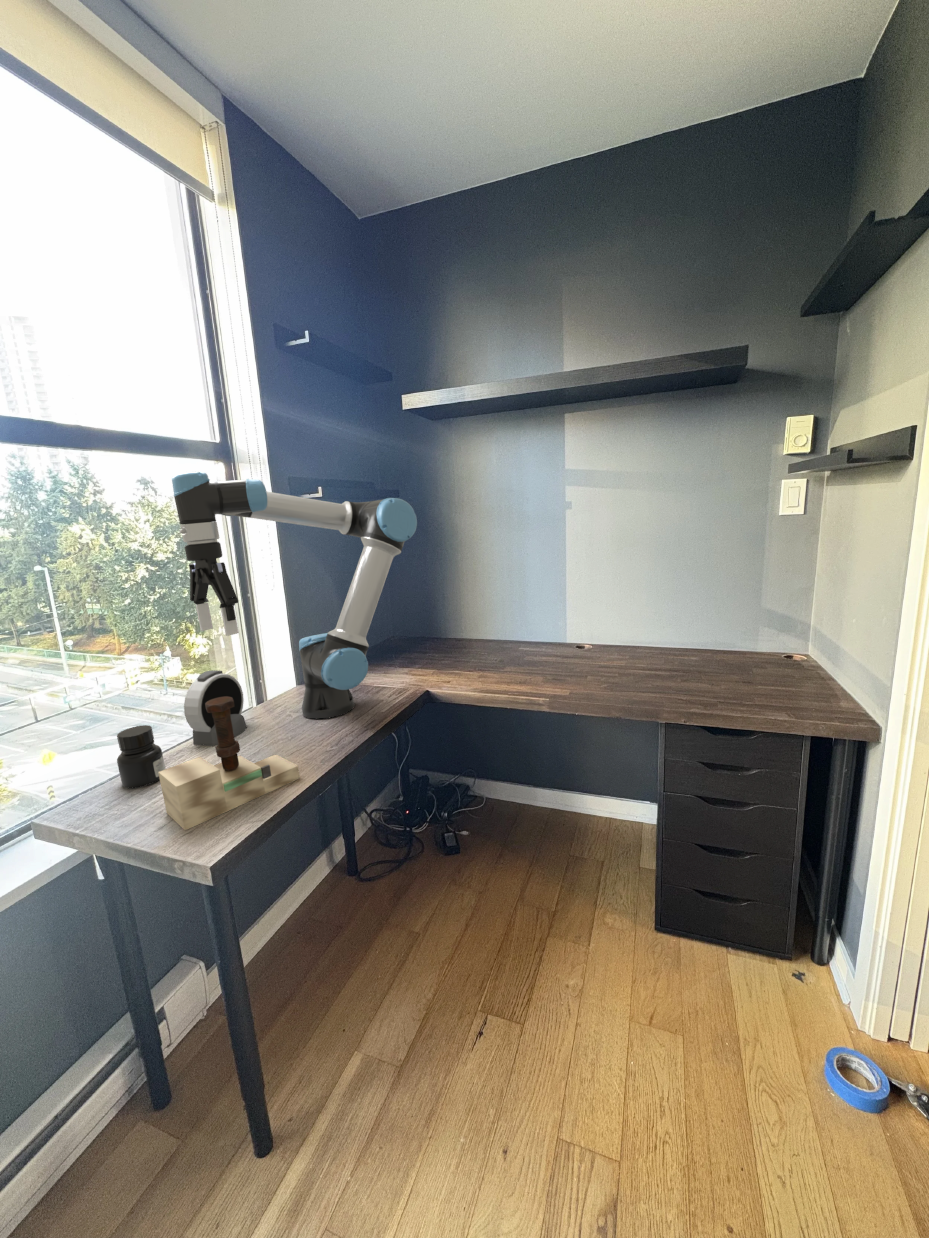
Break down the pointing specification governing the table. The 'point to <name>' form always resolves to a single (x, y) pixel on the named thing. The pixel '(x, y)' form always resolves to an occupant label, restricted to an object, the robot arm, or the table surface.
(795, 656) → the table surface
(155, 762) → the ink bottle
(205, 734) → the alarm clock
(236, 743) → the bolt
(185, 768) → the stair stand
